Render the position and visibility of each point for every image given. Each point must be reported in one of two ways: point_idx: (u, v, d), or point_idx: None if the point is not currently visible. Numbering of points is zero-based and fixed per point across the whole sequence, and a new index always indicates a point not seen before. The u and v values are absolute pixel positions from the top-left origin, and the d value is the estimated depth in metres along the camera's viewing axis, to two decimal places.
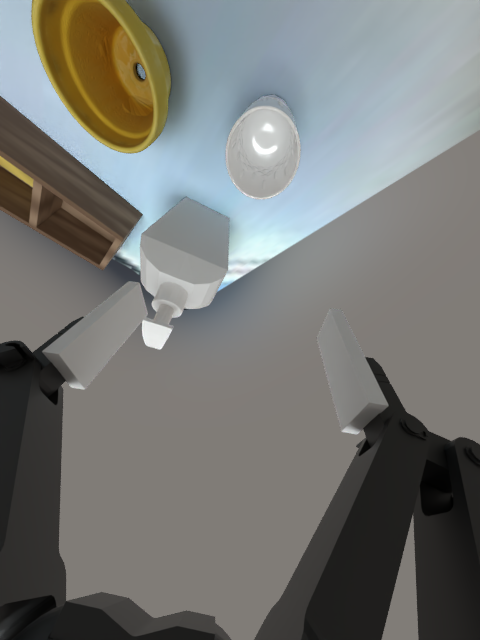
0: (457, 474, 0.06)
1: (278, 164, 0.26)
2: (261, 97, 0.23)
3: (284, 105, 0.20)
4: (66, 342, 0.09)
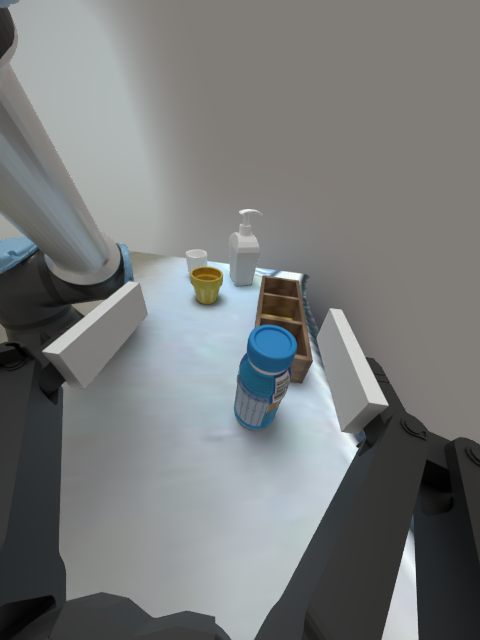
0: (457, 474, 0.06)
1: None
2: None
3: (187, 263, 0.75)
4: (66, 342, 0.09)
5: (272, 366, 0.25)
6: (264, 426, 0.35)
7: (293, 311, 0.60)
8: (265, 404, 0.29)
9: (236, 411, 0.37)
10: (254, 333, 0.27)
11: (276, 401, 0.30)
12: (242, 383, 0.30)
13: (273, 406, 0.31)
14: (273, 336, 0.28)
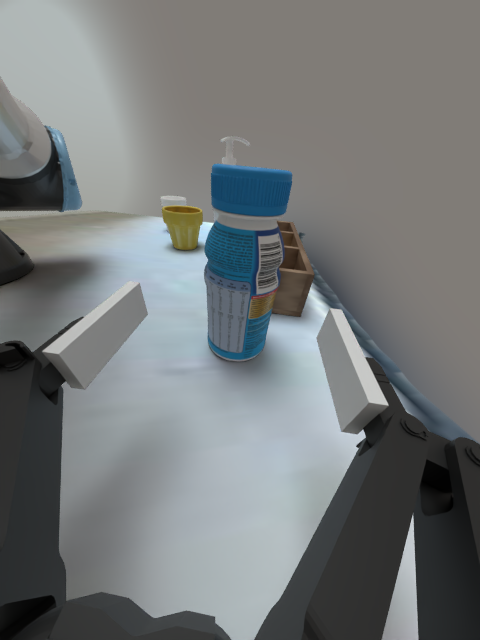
0: (457, 474, 0.06)
1: None
2: None
3: None
4: (66, 342, 0.09)
5: (250, 194, 0.14)
6: (249, 354, 0.25)
7: None
8: (245, 295, 0.19)
9: (209, 337, 0.26)
10: (222, 164, 0.17)
11: (262, 292, 0.19)
12: (209, 268, 0.20)
13: (259, 306, 0.20)
14: None
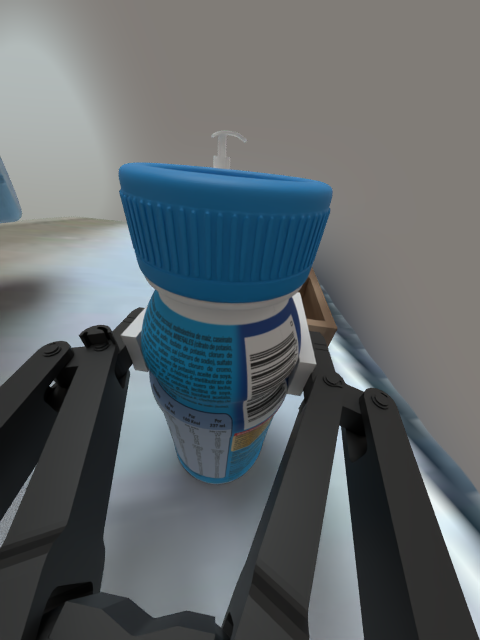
0: (367, 420, 0.07)
1: None
2: None
3: None
4: (138, 327, 0.10)
5: (214, 255, 0.05)
6: (236, 475, 0.15)
7: None
8: (221, 434, 0.09)
9: None
10: (160, 164, 0.07)
11: (257, 423, 0.09)
12: None
13: (250, 435, 0.11)
14: None
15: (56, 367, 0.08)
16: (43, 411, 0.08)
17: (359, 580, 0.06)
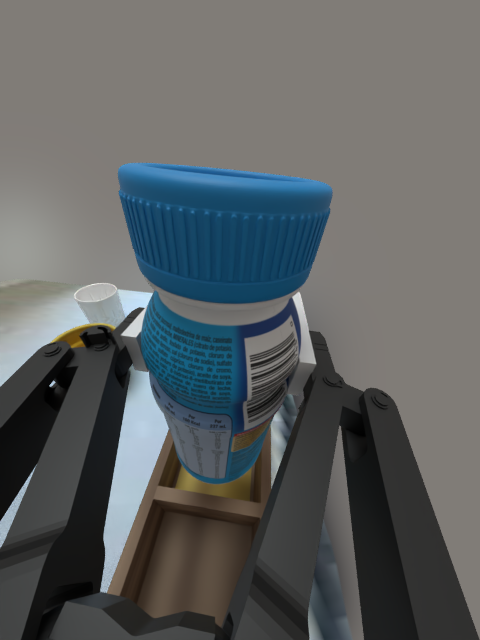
0: (367, 420, 0.07)
1: None
2: None
3: None
4: (138, 328, 0.10)
5: (214, 256, 0.05)
6: (236, 476, 0.15)
7: None
8: (221, 435, 0.09)
9: None
10: (159, 164, 0.07)
11: (257, 423, 0.09)
12: None
13: (251, 436, 0.11)
14: None
15: (56, 367, 0.08)
16: (43, 411, 0.08)
17: (359, 580, 0.06)
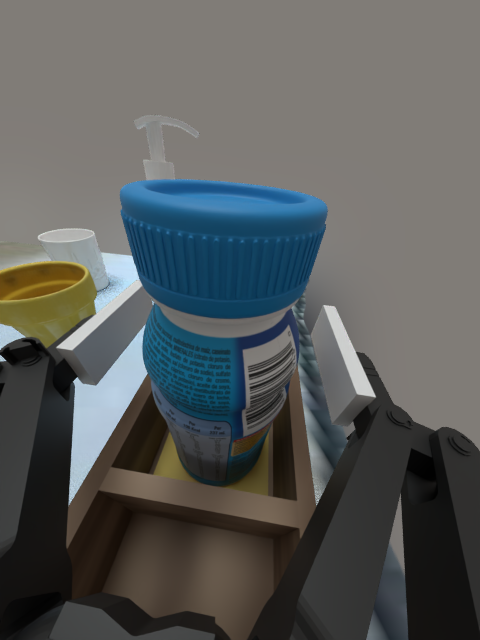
0: (441, 463, 0.06)
1: None
2: None
3: None
4: (79, 339, 0.09)
5: (212, 275, 0.05)
6: (237, 478, 0.15)
7: None
8: (220, 441, 0.09)
9: None
10: (160, 180, 0.07)
11: (256, 429, 0.10)
12: None
13: (250, 441, 0.11)
14: (236, 201, 0.08)
15: None
16: None
17: (411, 639, 0.05)
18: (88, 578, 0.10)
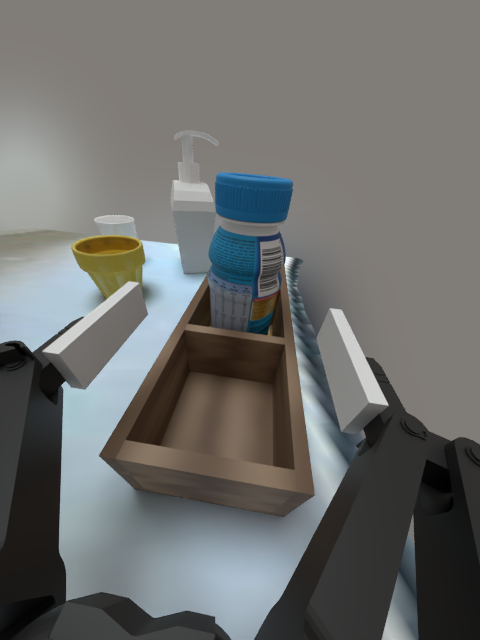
0: (457, 474, 0.06)
1: None
2: None
3: None
4: (66, 342, 0.09)
5: (252, 202, 0.15)
6: None
7: None
8: (247, 298, 0.19)
9: None
10: (225, 173, 0.17)
11: (264, 294, 0.20)
12: (213, 272, 0.20)
13: (260, 308, 0.21)
14: None
15: None
16: None
17: None
18: (178, 376, 0.21)
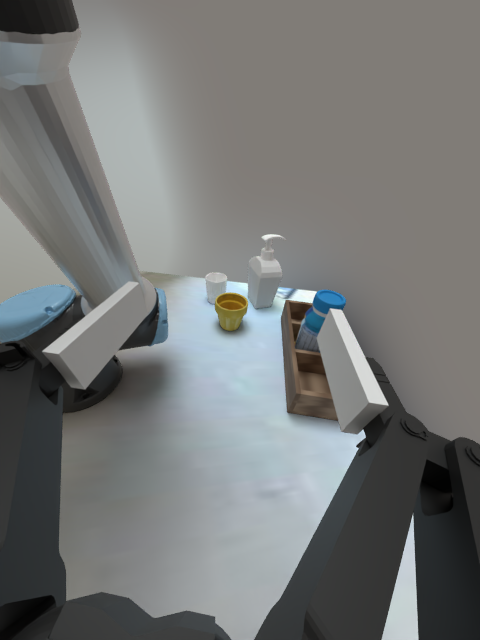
0: (457, 474, 0.06)
1: None
2: (210, 300, 0.75)
3: (206, 287, 0.74)
4: (66, 342, 0.09)
5: None
6: None
7: None
8: None
9: None
10: (319, 293, 0.45)
11: None
12: (307, 327, 0.48)
13: None
14: (329, 295, 0.46)
15: None
16: None
17: None
18: None
